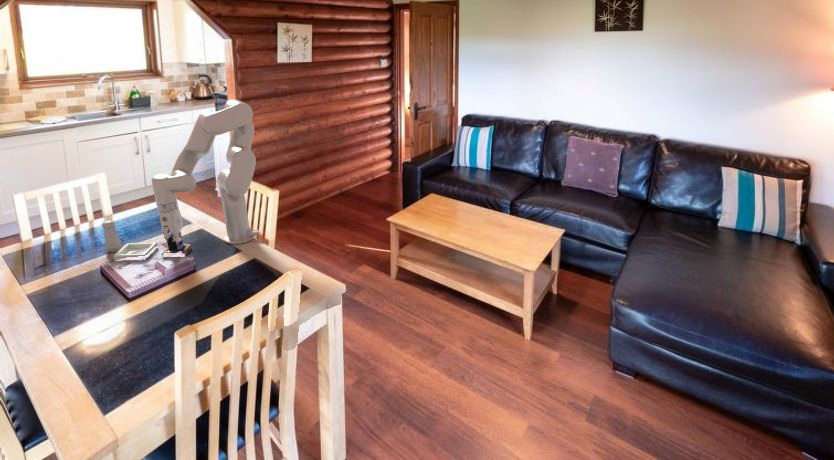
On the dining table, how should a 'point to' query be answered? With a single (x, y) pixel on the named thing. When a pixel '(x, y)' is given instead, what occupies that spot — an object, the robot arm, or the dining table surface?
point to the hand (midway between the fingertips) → (176, 246)
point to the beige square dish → (186, 249)
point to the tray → (132, 248)
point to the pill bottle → (178, 243)
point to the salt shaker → (111, 237)
